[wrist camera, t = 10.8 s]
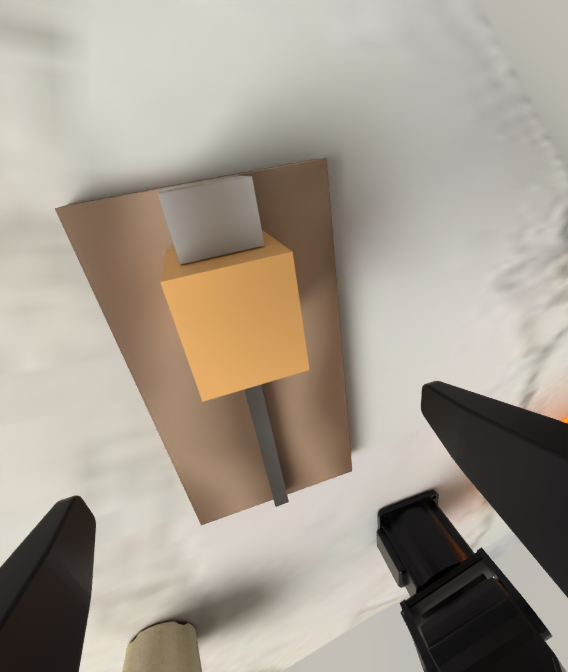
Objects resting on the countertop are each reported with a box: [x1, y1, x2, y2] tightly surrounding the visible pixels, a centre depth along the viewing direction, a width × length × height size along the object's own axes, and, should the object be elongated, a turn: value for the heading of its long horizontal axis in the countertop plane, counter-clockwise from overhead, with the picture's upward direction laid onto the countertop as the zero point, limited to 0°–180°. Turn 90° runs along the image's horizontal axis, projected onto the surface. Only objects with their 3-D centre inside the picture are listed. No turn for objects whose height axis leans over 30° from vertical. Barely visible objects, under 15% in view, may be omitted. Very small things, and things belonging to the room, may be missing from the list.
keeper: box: [160, 230, 309, 402], centre depth 14 cm, size 4×5×5 cm
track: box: [55, 158, 352, 525], centre depth 19 cm, size 12×22×6 cm, turn 9°
